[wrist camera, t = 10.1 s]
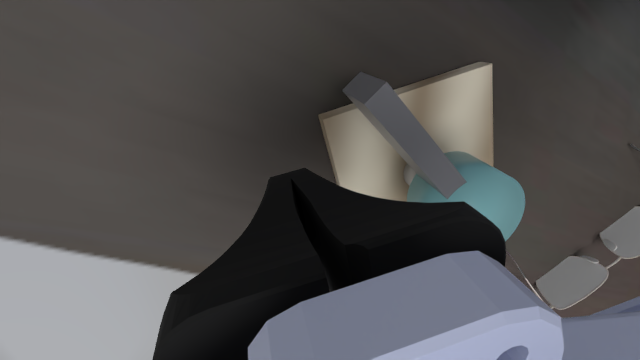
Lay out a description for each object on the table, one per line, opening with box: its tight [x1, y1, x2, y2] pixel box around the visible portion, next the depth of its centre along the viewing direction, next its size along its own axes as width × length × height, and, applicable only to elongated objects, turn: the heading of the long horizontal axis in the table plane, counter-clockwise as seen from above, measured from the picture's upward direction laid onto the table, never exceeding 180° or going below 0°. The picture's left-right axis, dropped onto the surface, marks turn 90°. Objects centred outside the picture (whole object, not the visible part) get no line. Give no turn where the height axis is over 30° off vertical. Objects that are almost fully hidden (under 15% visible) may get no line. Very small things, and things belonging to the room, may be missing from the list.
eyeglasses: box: [506, 144, 640, 310], centre depth 29 cm, size 14×8×4 cm, turn 129°
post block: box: [318, 62, 493, 202], centre depth 22 cm, size 11×11×4 cm
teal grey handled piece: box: [342, 72, 525, 241], centre depth 17 cm, size 12×5×3 cm, turn 43°
